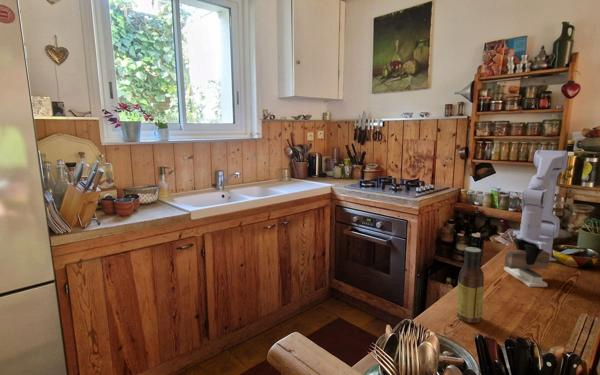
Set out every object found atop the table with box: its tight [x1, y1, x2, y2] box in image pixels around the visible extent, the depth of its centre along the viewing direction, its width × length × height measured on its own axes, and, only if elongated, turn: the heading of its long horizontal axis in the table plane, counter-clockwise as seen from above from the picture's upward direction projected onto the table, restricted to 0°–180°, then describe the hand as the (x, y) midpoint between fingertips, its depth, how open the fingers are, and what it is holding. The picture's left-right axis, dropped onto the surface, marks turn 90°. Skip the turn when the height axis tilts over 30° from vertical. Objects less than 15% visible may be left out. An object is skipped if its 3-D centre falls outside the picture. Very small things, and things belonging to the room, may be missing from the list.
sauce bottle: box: [456, 246, 485, 324], centre depth 92 cm, size 7×6×20 cm
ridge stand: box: [503, 266, 548, 288], centre depth 120 cm, size 14×6×4 cm, turn 1°
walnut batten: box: [504, 249, 550, 270], centre depth 119 cm, size 4×13×6 cm, turn 91°
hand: (526, 262), depth 119 cm, fingers closed on walnut batten, 3 cm apart
